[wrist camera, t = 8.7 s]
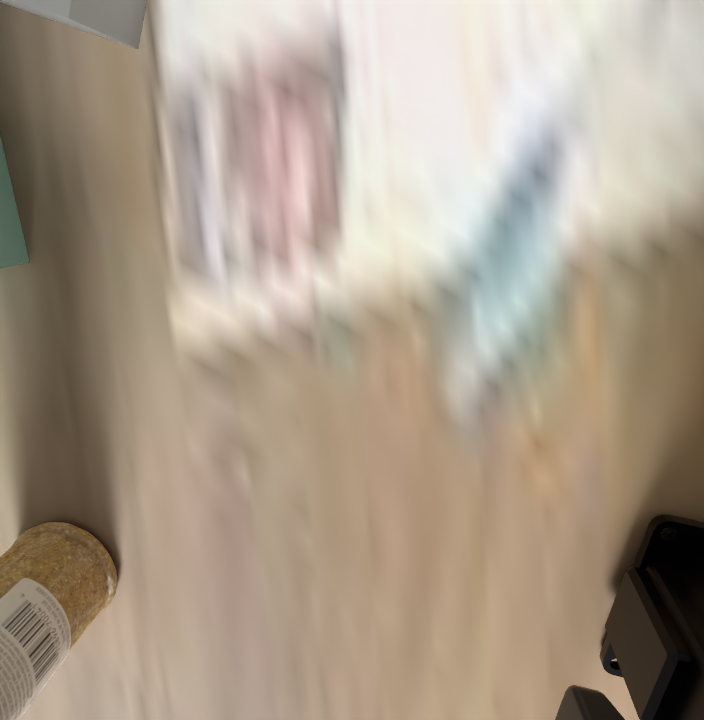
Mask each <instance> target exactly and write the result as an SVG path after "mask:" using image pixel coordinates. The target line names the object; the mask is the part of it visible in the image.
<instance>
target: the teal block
mask: <svg viewBox="0 0 704 720" xmlns="http://www.w3.org/2000/svg"><path fill="white" fill-rule="evenodd" d="M24 263H29V257H28V253H27V249H26V244H25V240H24V236H23V231H22V227H21V223H20V218H19V214H18V210H17V205H16V201H15V197H14V192H13V188H12V184H11V179H10V175H9V171H8V166H7V162H6V158H5V153H4V149H3V145H2V140H1V136H0V268H3V267H8V266H14V265H19V264H24Z"/></svg>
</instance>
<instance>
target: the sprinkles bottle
mask: <svg viewBox="0 0 704 720" xmlns="http://www.w3.org/2000/svg"><path fill="white" fill-rule="evenodd" d="M117 580H118V578H117V572H116V569H115V565H114V563H113V562H112V558H111V557H110V555H109V553H108V551H107V550H106V549H105V548H104V547H103V545H102V544H101V543H100V542H99V541H98V540H97V539H96V538H95V537H94V536H93V535H91V534H90V533H89V532H87V531H85V530H83V529H80V528H78V527H76V526H74V525H71V524H68V523H65V522H48V523H43V524H41V525H37V526H35V527H32V528H29V529H28V530H26V531H25V532H24V533H22V534H21V535H20V536H19V537H18V539H17V540H16V541H15V542H14V544H13V546H12V547H11V548H10V549H9V550H8V551H6V552H5V553H4V554H3V555H2V556H1V557H0V720H19V719H20V718H21V716H22V715H23V714H24V712H25V711H26V710H27V709H28V707H29V706H30V705H31V703H32V702H33V701H34V700H35V698H36V697H37V696H38V694H39V693H40V692H41V690H42V689H43V688H44V686H45V685H46V684H47V683H48V681H49V680H50V679H51V677H52V676H53V675H54V673H55V672H56V671H57V669H58V668H59V667H60V666H61V664H62V663H63V662H64V660H65V659H66V657H67V655H68V653H69V650H70V649H71V648H72V647H73V645H74V644H75V643H76V641H77V640H78V639H79V638H80V637H81V635H82V634H83V633H84V631H85V630H86V628H87V627H88V626H89V625H90V624H91V622H92V621H93V620H94V619H95V617H97V616H98V615H99V614H100V613H101V612H102V611H103V610H104V609H105V608H106V607H107V606H108V605H109V604H110V603H111V601H112V599H113V597H114V595H115V593H116V588H117Z"/></svg>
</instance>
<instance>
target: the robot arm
mask: <svg viewBox="0 0 704 720" xmlns="http://www.w3.org/2000/svg"><path fill="white" fill-rule="evenodd" d="M665 528H672V530H671V532H670V533H668V534H661V532H662V530H663V529H665ZM605 629H606V632H607V636H606V639H605V641H604V644H603V647H602V649H601V652H600V659H601V662H602V665H603V667H604V669H605V670H606V671H607V672H608V673H610V674H612V675H616V676H620V677H624V680H625V683H626V685H627V688H628V690H629V693H630V696H631V698H632V701H633V704H634V706H635V709H636V712H637V714H638V717H639V719H640V720H704V523H703V522H698V521H694V520H689V519H685V518H680V517H676V516H672V515H660V516H657V517H656V518H654V519H653V520H652V521H651V522H650V524H649V526H648V529H647V532H646V534H645V537H644V539H643V542H642V545H641V547H640V550H639V553H638V555H637V558H636V560H635V563H634V566H633V567H631V568H630V569H628V570H627V571H626V572H625V574H624V577H623V580H622V582H621V585H620V588H619V590H618V593H617V595H616V598H615V601H614V603H613V606H612V609H611V611H610V614H609V617H608V619H607V622H606V624H605ZM615 658H616V659H617V661H611V660H613V659H615ZM555 720H625V719H624V718H623V717H622V716H621V714H620V713H619V712H618V711H617V710H616V708H615V707H614V706H613V705H612V704H611V702H610V701H609V700H608V699H607V698H606V696H605V695H604V694H602V693H601V692H599V691H597V690H593V689H589V688H585V687H581V686H577V685H572V686H570V687H568V689H567V690H566V692H565V694H564V697H563V700H562V702H561V705H560V708H559V710H558V713H557V716H556V719H555Z"/></svg>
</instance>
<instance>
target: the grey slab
mask: <svg viewBox="0 0 704 720" xmlns="http://www.w3.org/2000/svg"><path fill="white" fill-rule="evenodd" d="M0 3H3V4H6V5H9V6H12V7H15V8H18V9H21V10H24V11H27V12H30V13H33V14H36V15H39V16H42V17H45V18H47V19H50V20H53V21H56V22H59V23H62V24H65V25H68V26H71V27H74V28H77V29H80V30H83V31H86V32H89V33H92V34H95V35H98V36H101V37H103V38H106V39H109V40H112V41H115V42H118V43H121V44H124V45H127V46H130V47H133V48H136V49H138V47H139V41H140V36H141V31H142V25H143V20H144V14H145V9H146V3H147V0H0Z"/></svg>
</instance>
